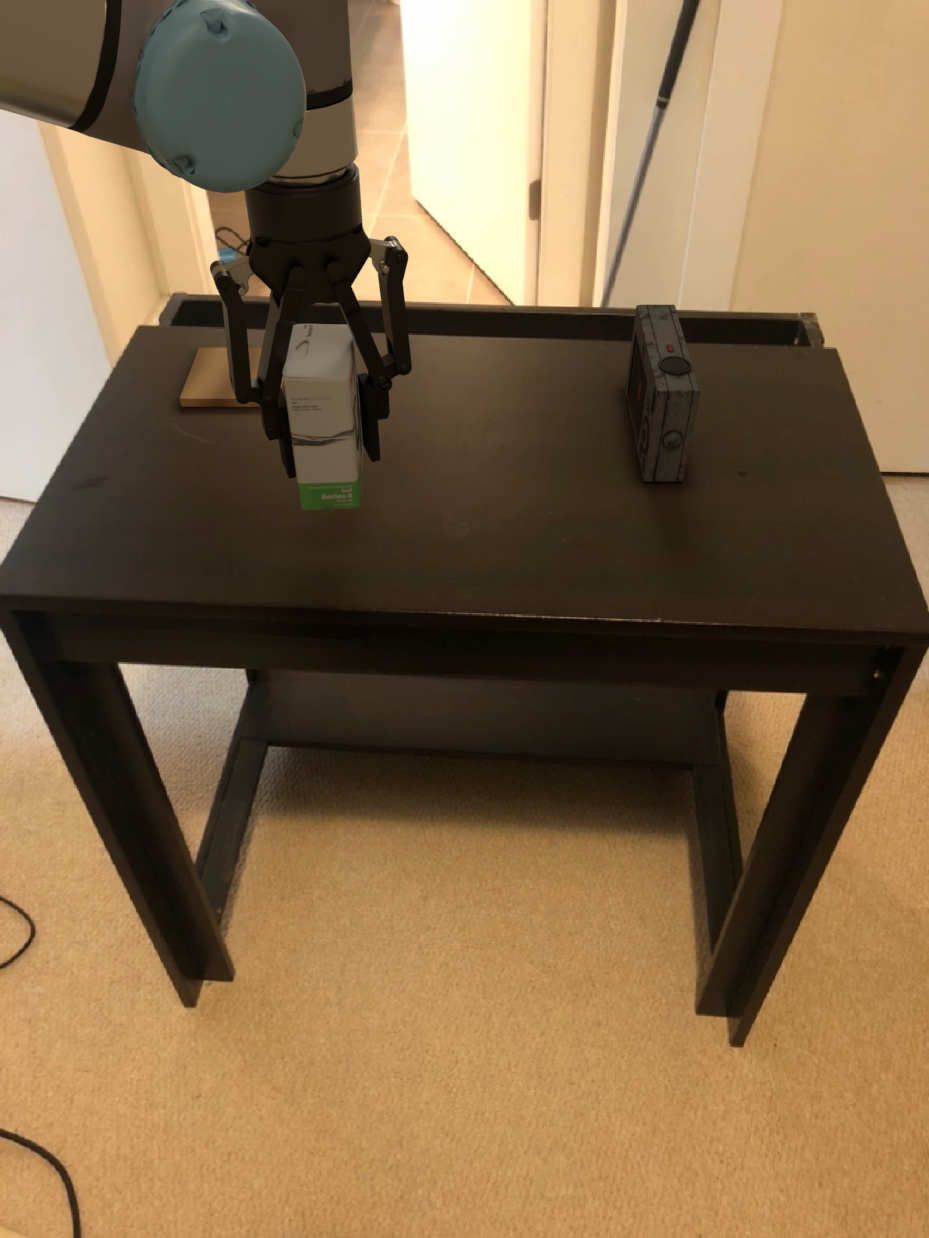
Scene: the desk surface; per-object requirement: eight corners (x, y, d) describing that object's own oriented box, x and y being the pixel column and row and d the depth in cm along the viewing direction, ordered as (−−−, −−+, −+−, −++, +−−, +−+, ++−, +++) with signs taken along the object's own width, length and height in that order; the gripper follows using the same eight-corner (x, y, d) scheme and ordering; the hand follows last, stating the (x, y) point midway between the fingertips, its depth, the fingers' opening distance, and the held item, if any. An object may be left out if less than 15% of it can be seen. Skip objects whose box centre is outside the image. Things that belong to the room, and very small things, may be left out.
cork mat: (181, 407, 99) (179, 398, 99) (200, 355, 106) (198, 347, 106) (279, 407, 99) (278, 398, 99) (292, 355, 106) (291, 347, 106)
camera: (686, 490, 90) (705, 395, 83) (643, 490, 90) (658, 395, 83) (661, 392, 101) (676, 301, 94) (623, 392, 101) (635, 301, 94)
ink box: (361, 511, 78) (350, 379, 69) (298, 512, 78) (279, 380, 69) (364, 447, 84) (355, 320, 75) (306, 448, 84) (290, 320, 75)
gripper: (423, 128, 68) (428, 414, 84) (141, 160, 63) (205, 456, 80) (459, 167, 63) (457, 463, 79) (156, 205, 58) (220, 511, 75)
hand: (331, 459), depth 79 cm, fingers closed on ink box, 6 cm apart
